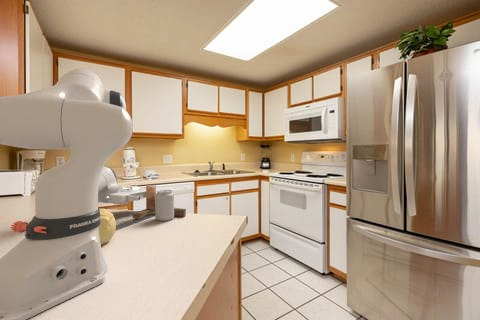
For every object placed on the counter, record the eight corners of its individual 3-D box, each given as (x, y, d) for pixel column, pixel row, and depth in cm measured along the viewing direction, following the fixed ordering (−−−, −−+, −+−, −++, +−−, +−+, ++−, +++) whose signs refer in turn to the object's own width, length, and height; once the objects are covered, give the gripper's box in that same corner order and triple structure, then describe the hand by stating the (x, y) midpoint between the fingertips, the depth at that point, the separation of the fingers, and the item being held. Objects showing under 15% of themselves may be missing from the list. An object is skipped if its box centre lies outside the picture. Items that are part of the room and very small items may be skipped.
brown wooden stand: (166, 224, 88) (166, 190, 88) (131, 220, 93) (131, 188, 93) (185, 215, 101) (185, 186, 100) (154, 212, 106) (154, 184, 106)
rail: (108, 233, 79) (108, 230, 79) (103, 232, 79) (103, 229, 79) (160, 213, 105) (160, 211, 105) (156, 213, 106) (156, 210, 106)
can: (170, 221, 93) (170, 192, 92) (152, 221, 93) (152, 191, 92) (176, 216, 100) (176, 189, 100) (159, 216, 100) (159, 189, 100)
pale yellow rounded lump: (63, 253, 63) (62, 214, 63) (80, 238, 74) (80, 204, 74) (109, 249, 66) (109, 211, 66) (119, 234, 77) (119, 203, 77)
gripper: (101, 191, 96) (128, 192, 91) (137, 185, 115) (161, 186, 111) (101, 206, 96) (128, 208, 91) (137, 197, 115) (161, 199, 111)
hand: (146, 196), depth 101 cm, fingers open, 8 cm apart
